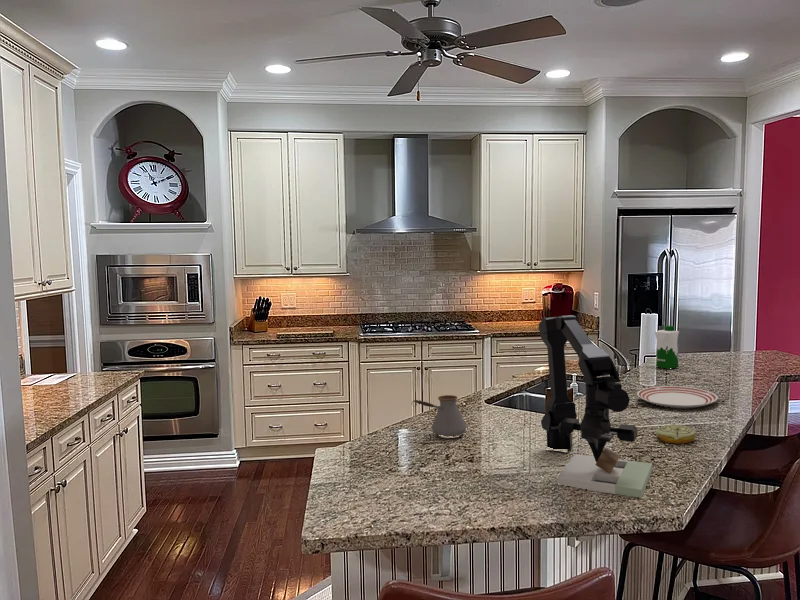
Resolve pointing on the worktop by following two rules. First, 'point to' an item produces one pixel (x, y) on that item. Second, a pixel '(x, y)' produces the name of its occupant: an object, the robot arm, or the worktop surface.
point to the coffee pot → (447, 416)
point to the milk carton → (667, 347)
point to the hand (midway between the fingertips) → (597, 461)
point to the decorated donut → (676, 433)
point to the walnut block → (607, 460)
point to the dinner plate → (677, 396)
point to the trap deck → (606, 476)
